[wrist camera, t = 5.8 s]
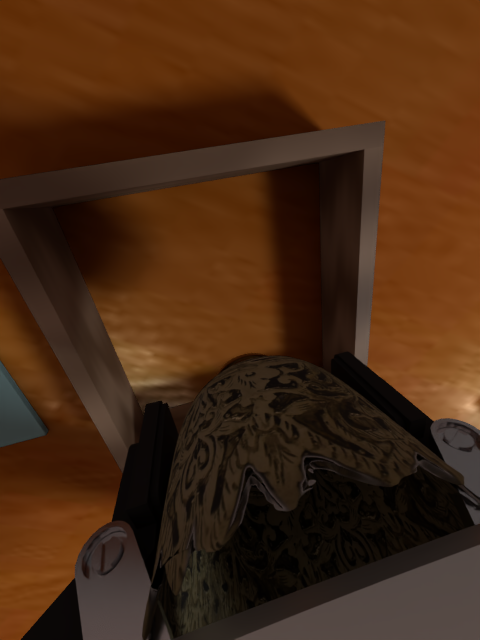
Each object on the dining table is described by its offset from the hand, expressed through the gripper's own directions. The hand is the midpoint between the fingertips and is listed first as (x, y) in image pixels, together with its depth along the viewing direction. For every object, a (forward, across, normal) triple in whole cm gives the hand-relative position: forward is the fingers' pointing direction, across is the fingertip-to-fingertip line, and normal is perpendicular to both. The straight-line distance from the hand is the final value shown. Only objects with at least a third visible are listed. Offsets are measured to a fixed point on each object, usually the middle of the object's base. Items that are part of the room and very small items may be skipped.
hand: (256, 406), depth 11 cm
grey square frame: (+10, 0, -1) cm, 10 cm away
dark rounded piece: (+2, 0, 0) cm, 2 cm away
